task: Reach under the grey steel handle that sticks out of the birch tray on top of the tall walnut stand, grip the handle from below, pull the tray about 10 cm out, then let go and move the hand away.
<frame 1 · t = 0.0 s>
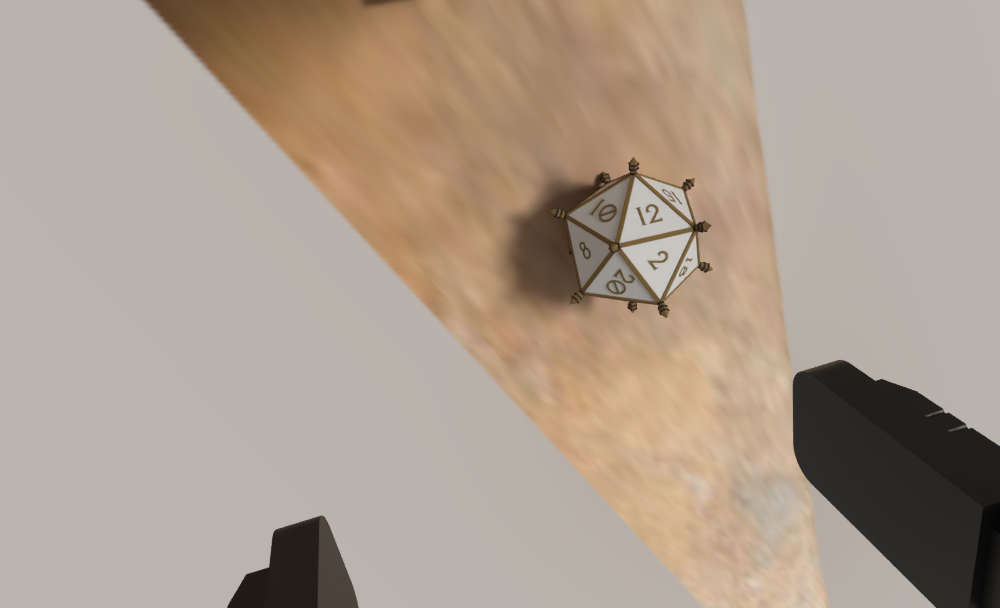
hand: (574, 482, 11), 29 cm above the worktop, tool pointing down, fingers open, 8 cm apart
game die: (606, 219, 42), on the worktop
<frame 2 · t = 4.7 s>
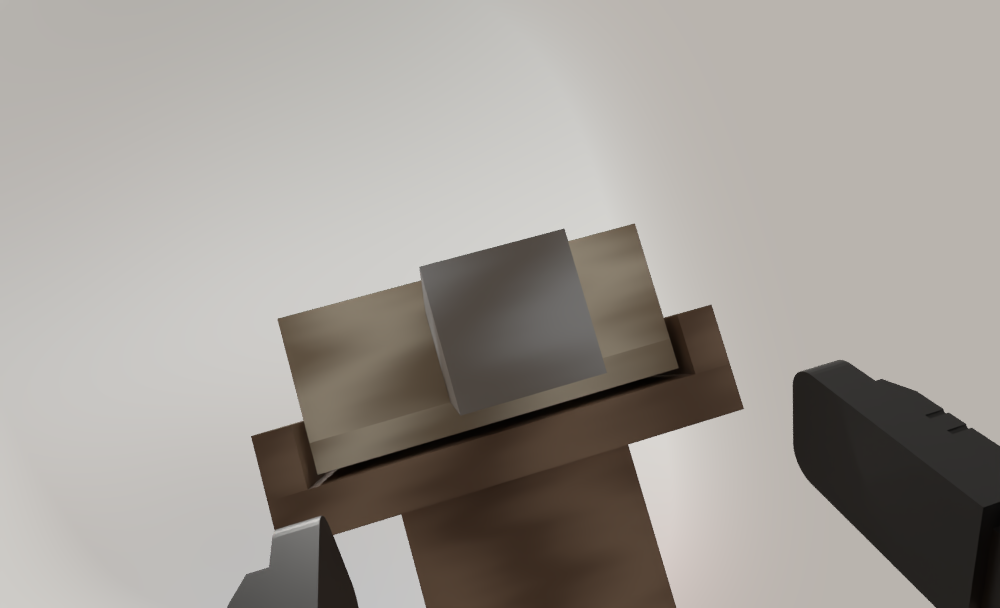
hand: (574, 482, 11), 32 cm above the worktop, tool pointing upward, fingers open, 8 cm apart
tray: (482, 344, 22), point 35 cm above the worktop, slide at 0.0 cm
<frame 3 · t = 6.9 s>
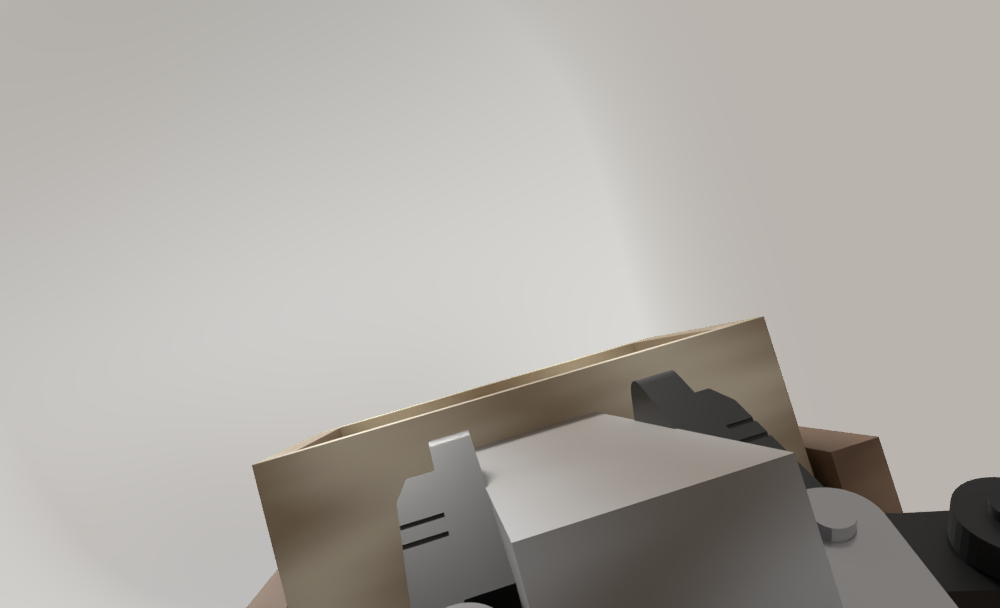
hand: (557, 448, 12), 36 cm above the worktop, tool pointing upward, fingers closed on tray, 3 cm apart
tray: (549, 495, 15), point 35 cm above the worktop, slide at 0.0 cm, touching gripper
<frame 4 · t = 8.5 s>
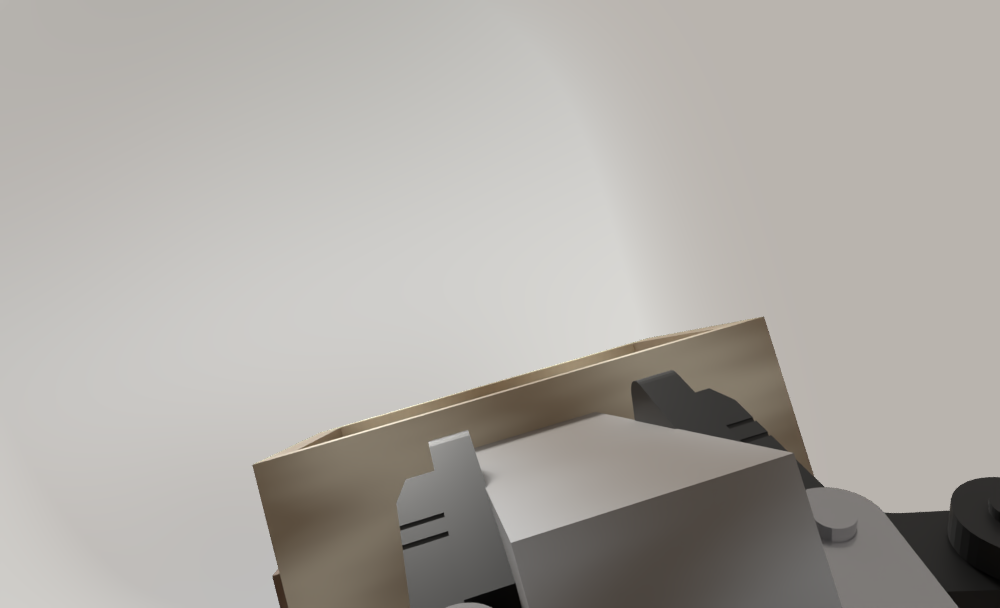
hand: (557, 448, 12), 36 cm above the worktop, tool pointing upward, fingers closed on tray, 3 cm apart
tray: (549, 495, 15), point 35 cm above the worktop, slide at 5.3 cm, touching gripper
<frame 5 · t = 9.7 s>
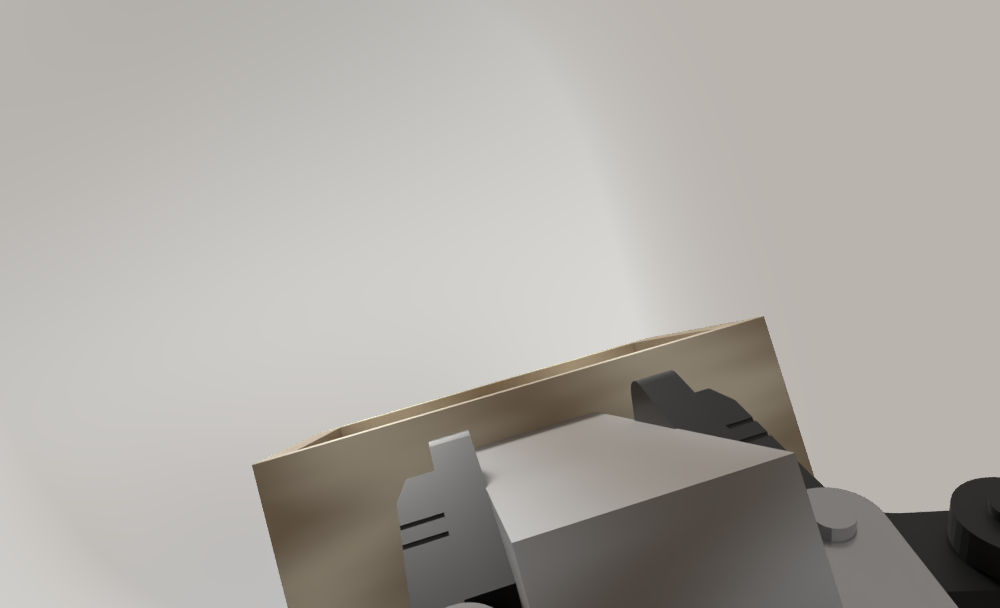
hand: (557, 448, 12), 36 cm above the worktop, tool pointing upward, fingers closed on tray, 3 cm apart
tray: (549, 495, 15), point 35 cm above the worktop, slide at 10.0 cm, touching gripper
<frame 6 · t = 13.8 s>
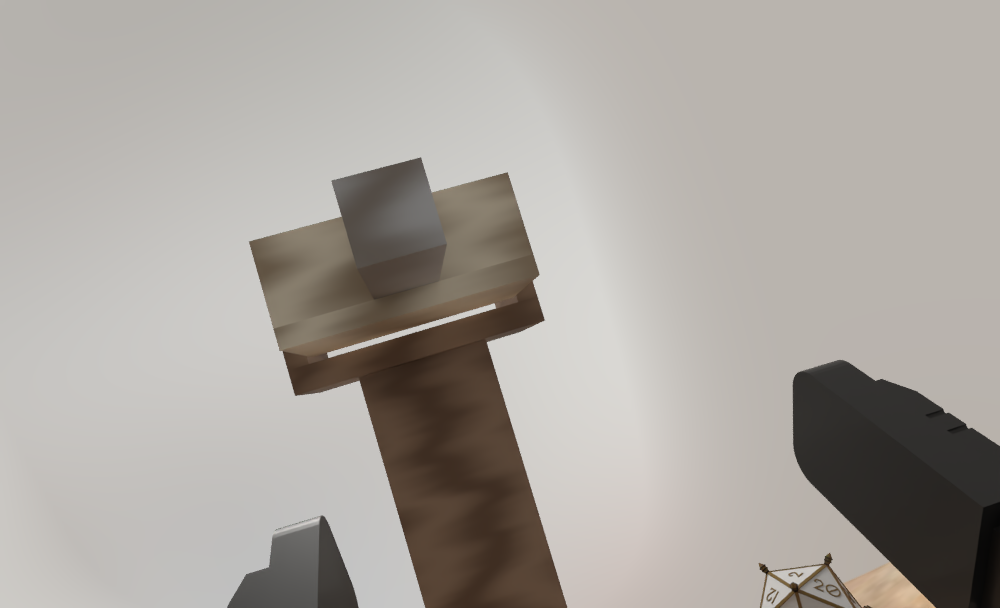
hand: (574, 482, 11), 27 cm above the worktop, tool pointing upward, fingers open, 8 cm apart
tray: (397, 259, 31), point 35 cm above the worktop, slide at 10.0 cm
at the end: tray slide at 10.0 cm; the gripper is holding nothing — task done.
